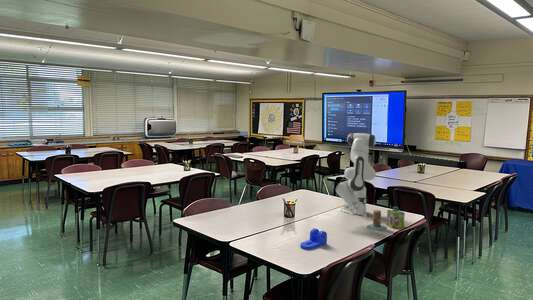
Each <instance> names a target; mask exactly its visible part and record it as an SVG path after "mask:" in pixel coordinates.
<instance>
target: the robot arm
mask: <svg viewBox="0 0 533 300" xmlns="http://www.w3.org/2000/svg"><path fill="white" fill-rule="evenodd" d="M346 142H347V145H348V146H351V149H350V155H349V156H350V158H349V159H350V161H351V162H352V163H353V164H354V166H349V167H346V168H345V169H344V174H343V175H344V177H345V179H346V180H345V181H341V182H339V183H338V184H337V185H336V188H335V192H336V193H337V195H338V196H339V197H340V198H341V199H342V200H344V202H345V203H344V204H343V207H342V208H340V212H343V213H346V214H350V215H354V216H355V215H357V216H358V215H359V216H362V217H364V218H365V219H366V218H367V217H368V215H367V214H368V211H367V188H366V184H365V181H373V180H375V178H376V176H377V173H376V170H375V168H374V167H372V166H371V165H370V163H369V150H370V148H373V147H375V146H376V143H377V139H376V136H375V135H374V134H371V133H370V134H369V133H364V132H350V133H349V134H348V135H347V138H346Z"/></svg>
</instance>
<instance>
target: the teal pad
mask: <svg viewBox="0 0 533 300" xmlns="http://www.w3.org/2000/svg"><path fill="white" fill-rule="evenodd" d="M366 228H367V229H370V230H374V231H377V232H381V231H382V230H384V229H387V225H383V224H381V226H380V227H373V223H371V224H368V225H366Z"/></svg>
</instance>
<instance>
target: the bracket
mask: <svg viewBox="0 0 533 300" xmlns="http://www.w3.org/2000/svg"><path fill="white" fill-rule="evenodd" d="M327 233H328V232H326V231H325V230H319V229H318V228H315V227H314V228H311V230H310V233H309V238H308V240H305V241H302V242H300V248H301V249H302V250H309V251H310V250H314V249H316V248H317V249H318V248H319V247H322V246H325V245H327V244H328V234H327Z"/></svg>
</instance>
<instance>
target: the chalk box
mask: <svg viewBox="0 0 533 300" xmlns="http://www.w3.org/2000/svg"><path fill="white" fill-rule="evenodd" d="M386 226H387V227H390V228H392V229H401V228H402V229H403V228H404V226H405V212H403V211H401V210H399V207H398V206H392V209H387V211H386Z"/></svg>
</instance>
